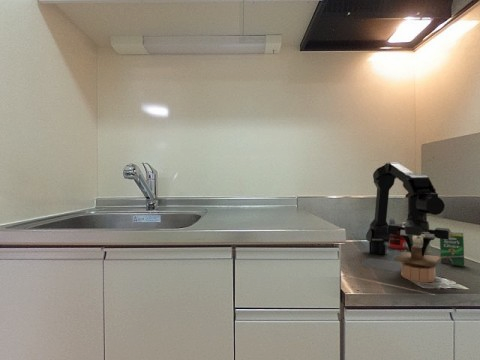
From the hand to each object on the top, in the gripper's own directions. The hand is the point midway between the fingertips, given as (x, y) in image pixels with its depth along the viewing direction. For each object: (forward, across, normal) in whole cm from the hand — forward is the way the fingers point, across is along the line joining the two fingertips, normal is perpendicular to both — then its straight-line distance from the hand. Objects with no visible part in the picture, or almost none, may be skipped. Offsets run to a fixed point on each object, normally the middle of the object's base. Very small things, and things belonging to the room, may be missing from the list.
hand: (417, 255), depth 105 cm
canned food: (+9, -17, +44) cm, 48 cm away
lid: (+2, 0, 0) cm, 2 cm away
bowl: (+8, 0, 0) cm, 8 cm away
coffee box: (+8, +7, +27) cm, 29 cm away
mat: (+8, -14, +8) cm, 18 cm away
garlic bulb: (+9, -6, +36) cm, 37 cm away
